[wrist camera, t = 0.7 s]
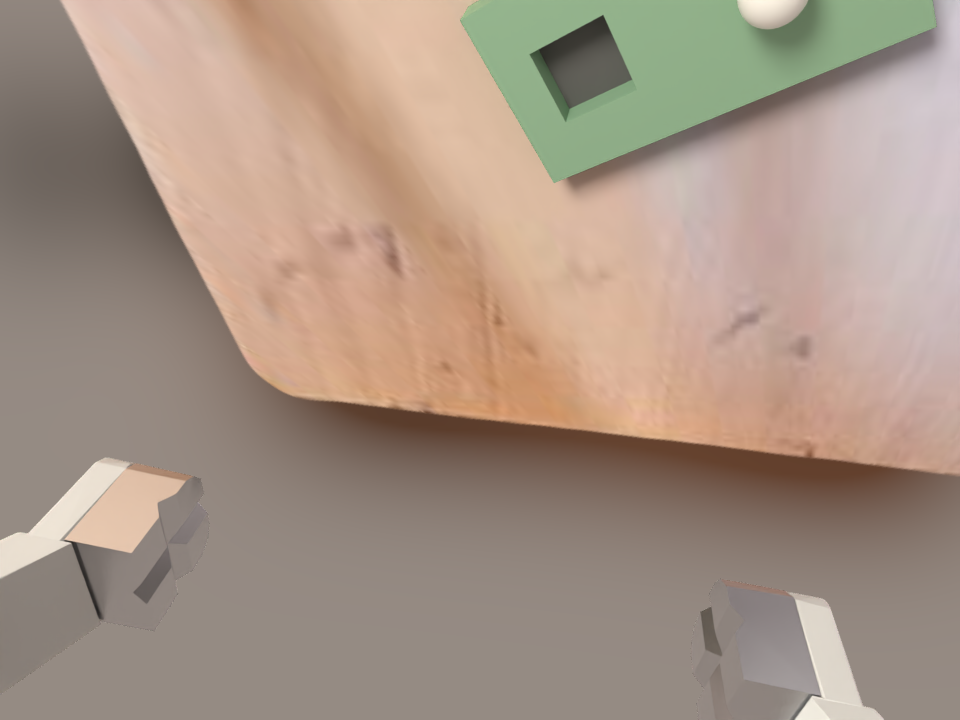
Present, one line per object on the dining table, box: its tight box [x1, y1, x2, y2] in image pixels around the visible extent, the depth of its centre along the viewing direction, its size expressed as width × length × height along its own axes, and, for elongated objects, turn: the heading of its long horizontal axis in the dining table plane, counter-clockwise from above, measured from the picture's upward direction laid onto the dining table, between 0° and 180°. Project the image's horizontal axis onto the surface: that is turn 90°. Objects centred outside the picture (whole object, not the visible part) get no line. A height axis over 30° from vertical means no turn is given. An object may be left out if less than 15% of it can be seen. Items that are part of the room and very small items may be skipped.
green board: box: [460, 0, 937, 183], centre depth 44 cm, size 26×14×2 cm, turn 123°
